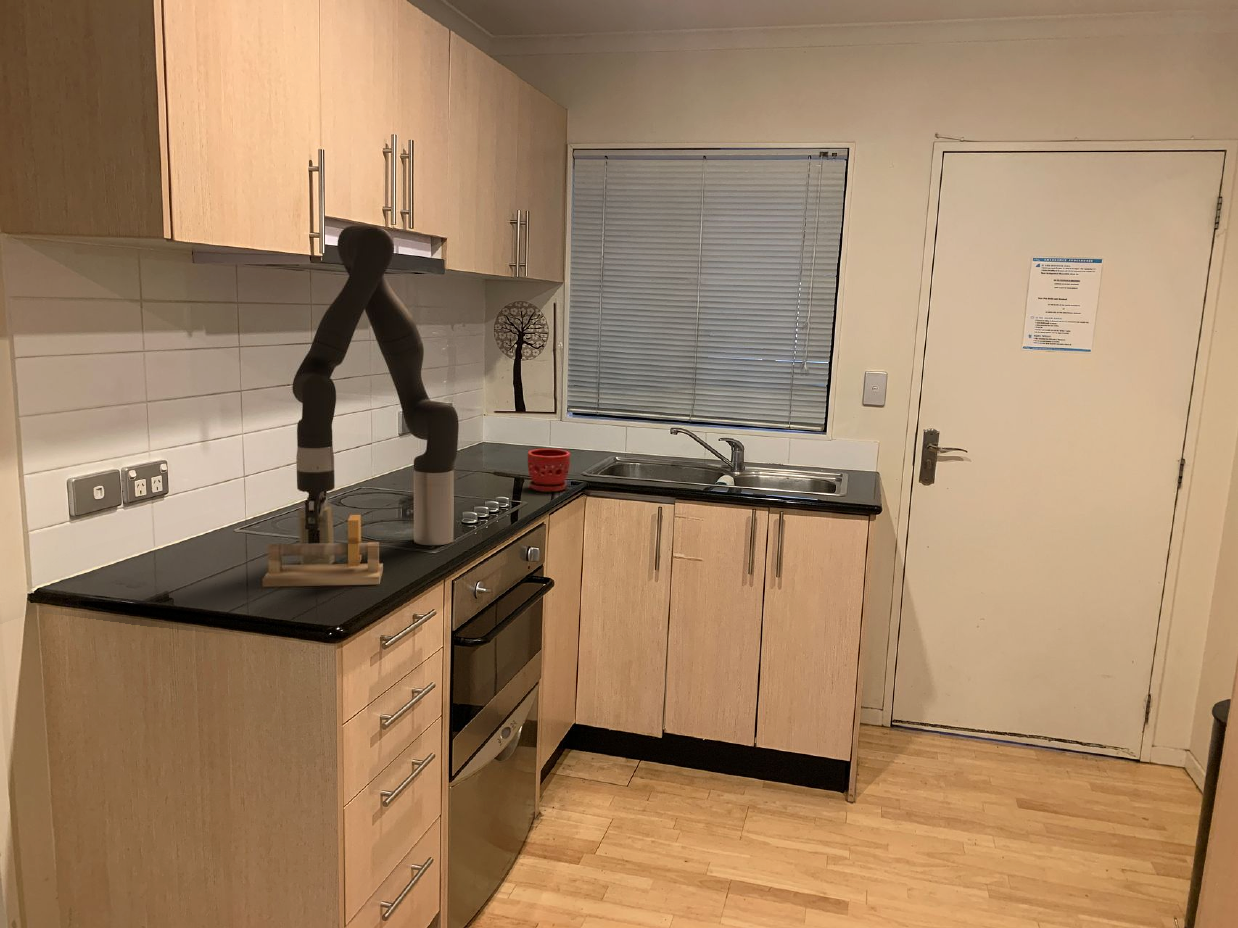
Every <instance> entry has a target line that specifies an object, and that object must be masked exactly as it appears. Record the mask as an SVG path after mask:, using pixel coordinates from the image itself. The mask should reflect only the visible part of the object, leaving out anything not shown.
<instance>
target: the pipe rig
mask: <svg viewBox="0 0 1238 928" xmlns="http://www.w3.org/2000/svg"><path fill="white" fill-rule="evenodd" d="M267 555H268V557H267V559H268V571H267V572H266V573H265V575H264V577H263V578H262V587H265V588H267V587H305V586H306V587H308V586H309V587H311V586H315V587H317V586H319V587H320V586H360V585H362V586H363V585H366V586H367V585H380V584H381V579H382V576H383V571H384V563H380V542H379V541H369V542H361V543H359V555H361V556H365V555H367V563H360V564H359V566H348V563H332V564H310V565H301V564H283V560H282V558H283V557H292V556H293V557H295V556H297V557H301V556H314V555H334V556H347V557H348V541H347V542H339V543H338V542H334V543H313V544H300V543H280V542H279V543H278V542H277V543H276V542H275V543H270V544H269V545H268V547H267Z"/></svg>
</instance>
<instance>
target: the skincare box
mask: <svg viewBox="0 0 1238 928" xmlns="http://www.w3.org/2000/svg"><path fill="white" fill-rule="evenodd" d="M297 516H298V517H297V518H298V533H299V536H298V537H299V544H308V530H307V529H306V528H305V505H304V506H302V507H301V508H299V509H298V510H297ZM333 519H334V518H333V506H331V505H330V506H329V505H327V506H325V508H324V510H323V520H322V521H321V522H320V543H335V542H334V541H335V540H334V539H335V538H334V520H333ZM310 524H315V521H311V523H310ZM334 562H335V555H314V556H300V565H310V564H334Z"/></svg>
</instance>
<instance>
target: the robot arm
mask: <svg viewBox="0 0 1238 928" xmlns="http://www.w3.org/2000/svg"><path fill="white" fill-rule="evenodd" d="M336 245H337V246H336V247H337V248H336V249H337V252H338V256H339V259H340V260H341V263H342V264H343V267H344V269H345V270H346V272H347V275H348V278H347V280H346V282H345V284H344V286H343V287H342V288H341V290H340V292H339V293H338V295H337V296H336V298H335V299H334V300H333V302H332V303H331V304H330V305H329V307H328V308H327V309H326V310H325V312H324V314H323V316H322V317H321V320H320V322H319V324H318V326H317V330H316V332H315V334H314V337H313V340H312V343H311V345H310V349H309V351H308V352H307V354H306V355H305V357H304V358H303V361H301V363H300V365H299V367H298V368H297V371H296V373H295V375H294V378H293V381H292V388H291V389H292V394H293V396H294V398H295V399H296V400H297V401H298V402H299V403H301V404H302V409H301V419H299V420H298V422H297V424H296V425H297V427H296V440H297V441H296V444H297V445H296V446H297V448H296V461H295V462H296V489H297V490H298V491H300V492H303V493H305V492H306V493H308V495H307V498H306V499H305V502H304V506H305V528H306V529H307V530H308V544H313V543H320V522H321V521H322V520H323V510H324V508H325V506H328V495H327V493H328V492H330V491H333V490H334V489H335V483H336V482H335V480H336V479H335V455H334V447H333V420H334V417H335V410H336V406H337V405H336V404H337V389H336V385H335V383H334V381H333V380H332V378H331V376H332V375H333V373H334V371H335V369H336V367H338V366H340V365H342V363H343V362H344V360H345V358H346V355H347V353H348V350H349V348H350V344H351V342H352V340H353V337H354V333H355V331H356V329H357V326H358V325H359V322H360V319H361V318H362V315H363V313H364V311H365V314H366V316H367V319H368V321H369V323H370V326H371V329H372V331H373V334H374V336H375V339H376V343H377V346H378V347H379V349H380V353H381V355H382V357H383V359H384V361H385V364H386V366H387V368H388V371H389V374H390V377H391V380H392V382H393V385H394V387H395V390H396V394H397V397H398V400H399V404H400V408H401V411H402V416H403V417H404V421H405V424H406V427H407V429H408V431H409V432H410V434H411V435H412V436H413V437H415V438H417V439H418V440H419V439H420V440H423V441H426V449H425V452H424V453H422V454H420V455H417V456H416V457H414V459H413V542H414V543H415V544H417V545H424V546H442V545H449V544H452V543H453V542H454V523H455V521H454V520H455V519H454V514H455V513H454V511H455V510H454V509H455V508H454V507H455V504H454V503H455V500H454V496H455V491H454V489H455V486H454V485H455V479H454V477H455V476H454V475H455V473H454V471H455V470H454V469H455V462H456V458H457V456H458V447H459V446H458V443H459V426H460V425H459V416H458V412H457V410H456V408H455V407H454V406H453V405H452V404H450V403H447V402H442V401H435V400H431V399H430V398H429V395H428V393H427V391H426V388H425V386H424V383H423V379H422V369H423V363H424V357H425V353H424V352H425V349H424V343H423V340H422V337H421V335H420V332H419V328H418V327H417V324H416V322H415V320H414V317H413V316H412V313H410V311H409V310H408V309H407V307H406V306H405V304H404V303H403V302H402V301H401V299H400V298H399V297H398V296H397V294H396V293H395V292H394V290H393V289H392V287H391V286H390V284H389V282H388V280H387V278H386V275H385V273H387V270H388V268H389V266H390V264H391V262H392V260H393V258H394V255H395V254H394V253H395V243H394V239H393V237H392V235H390V233H389V232H388V231H387V230H386V229H384V228H382V227H380V226H374V225H361V224H360V225H359V224H358V225H349V226H346V227H345V228H343V229H342V230H341V232H340V233H339V235H338V238H337V243H336ZM311 521H315V524H310V523H311Z"/></svg>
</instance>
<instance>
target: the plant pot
mask: <svg viewBox="0 0 1238 928" xmlns="http://www.w3.org/2000/svg"><path fill="white" fill-rule="evenodd" d="M570 458H571V455H570V452H569V451H568V450H563V449H557V448H537V449H532V450H528V452H527V470H528V475H529V477H530V479H531V481H530V482H529V483H528V484H529V486H530V488H531V489H533V490H535V491H538V492H542V493H544V492H546V493H554V492H560V491H563V490H564V489H566V487H567V484H568V483H567V482H566V479H567V477H568V474H569V469H570V463H571V462H570V461H571V459H570ZM552 466H553V467H552Z"/></svg>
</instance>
